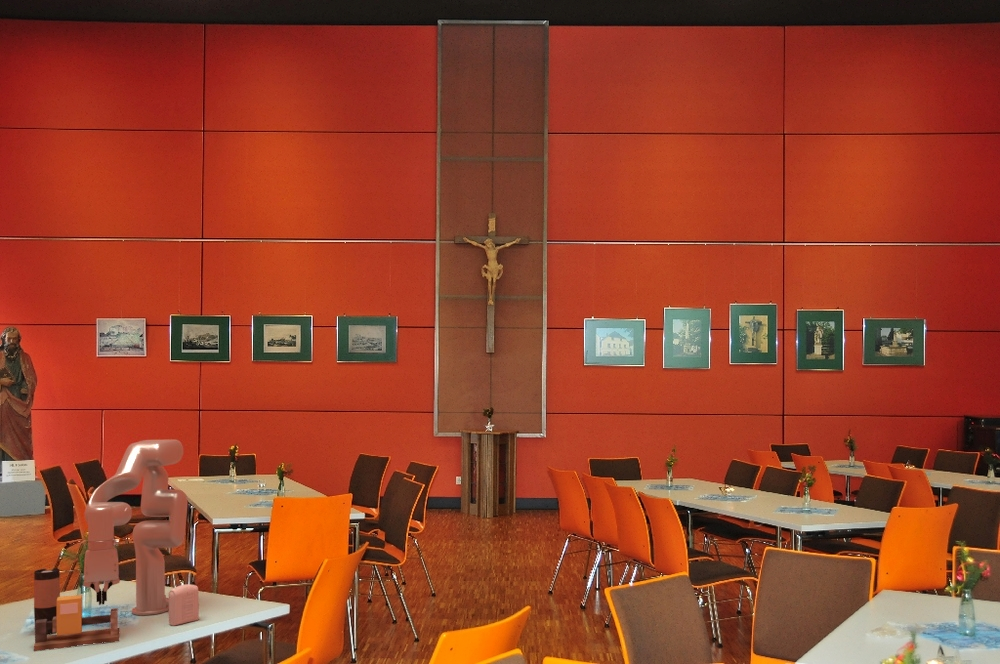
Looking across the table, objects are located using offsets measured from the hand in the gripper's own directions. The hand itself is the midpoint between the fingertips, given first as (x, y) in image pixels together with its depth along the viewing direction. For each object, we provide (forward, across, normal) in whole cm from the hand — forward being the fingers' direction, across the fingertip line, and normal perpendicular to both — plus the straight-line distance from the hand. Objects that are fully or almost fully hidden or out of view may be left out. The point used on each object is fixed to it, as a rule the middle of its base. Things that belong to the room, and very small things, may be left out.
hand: (101, 603), depth 304 cm
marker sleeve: (+8, +9, 0) cm, 12 cm away
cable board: (+11, +7, 0) cm, 13 cm away
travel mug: (+11, +17, -17) cm, 26 cm away
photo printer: (+11, -25, -10) cm, 29 cm away
